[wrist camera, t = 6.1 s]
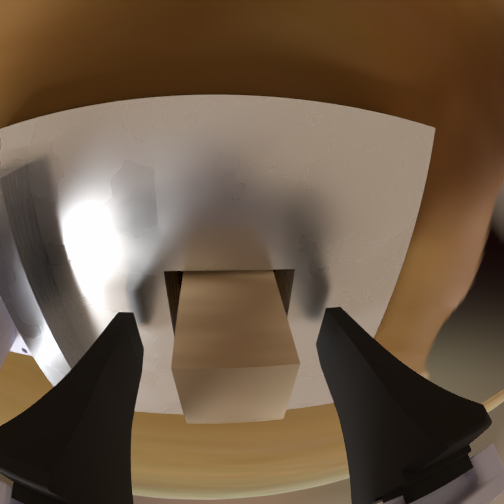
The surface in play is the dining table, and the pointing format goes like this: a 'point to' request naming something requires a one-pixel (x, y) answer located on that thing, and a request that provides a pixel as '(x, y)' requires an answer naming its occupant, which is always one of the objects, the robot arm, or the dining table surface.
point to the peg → (233, 348)
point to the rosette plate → (202, 220)
